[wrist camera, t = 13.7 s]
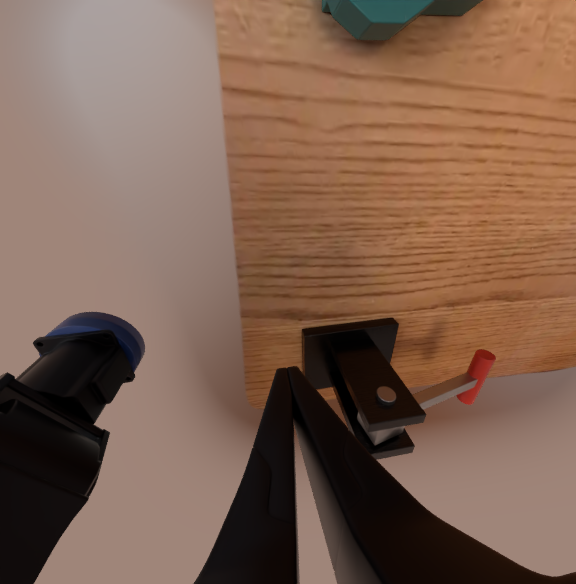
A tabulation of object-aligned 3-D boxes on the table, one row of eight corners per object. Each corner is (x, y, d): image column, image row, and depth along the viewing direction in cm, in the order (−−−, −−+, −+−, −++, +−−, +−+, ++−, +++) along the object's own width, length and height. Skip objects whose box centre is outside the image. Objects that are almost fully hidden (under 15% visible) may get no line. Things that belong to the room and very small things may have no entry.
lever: (477, 344, 22) (506, 361, 20) (458, 387, 25) (482, 406, 23) (361, 387, 18) (382, 413, 16) (354, 432, 21) (371, 459, 19)
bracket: (392, 317, 25) (468, 394, 16) (381, 370, 29) (438, 456, 20) (301, 328, 24) (331, 418, 15) (302, 383, 28) (327, 478, 19)
